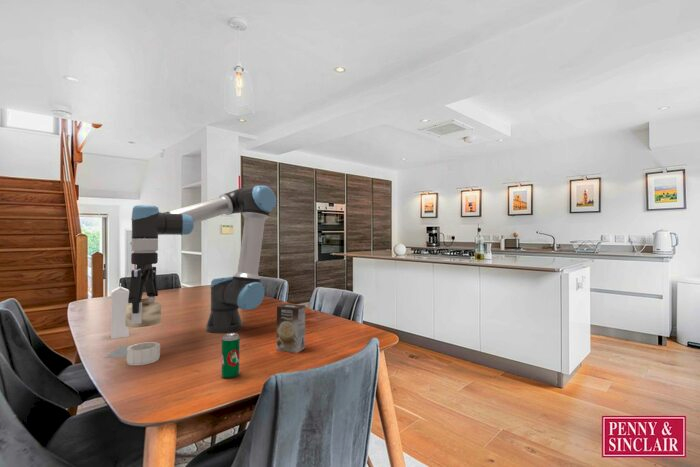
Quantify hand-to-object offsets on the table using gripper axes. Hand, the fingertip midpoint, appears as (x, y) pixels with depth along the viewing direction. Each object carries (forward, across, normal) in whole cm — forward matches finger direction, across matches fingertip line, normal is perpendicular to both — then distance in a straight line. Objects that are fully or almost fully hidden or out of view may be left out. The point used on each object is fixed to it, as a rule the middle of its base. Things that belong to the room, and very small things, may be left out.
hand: (143, 319), depth 111 cm
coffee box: (+14, -4, +48) cm, 50 cm away
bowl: (+14, 0, 0) cm, 14 cm away
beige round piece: (+1, 0, 0) cm, 1 cm away
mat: (+14, -11, -8) cm, 19 cm away
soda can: (+14, +17, +30) cm, 37 cm away
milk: (+14, -32, -21) cm, 41 cm away
